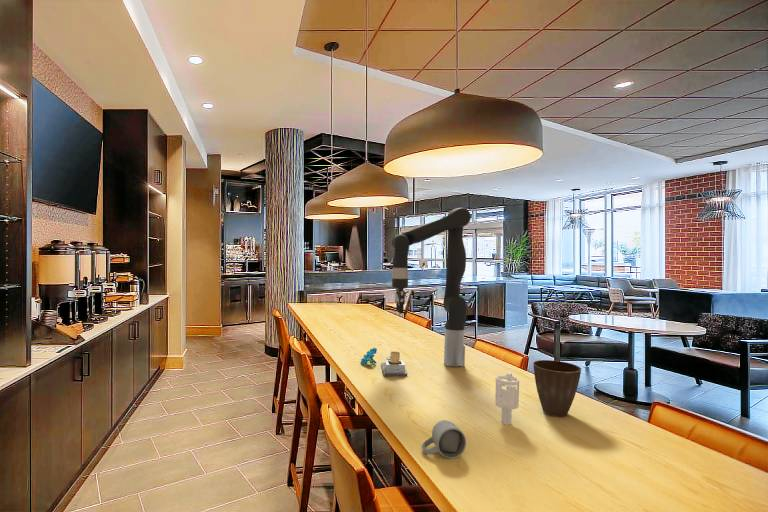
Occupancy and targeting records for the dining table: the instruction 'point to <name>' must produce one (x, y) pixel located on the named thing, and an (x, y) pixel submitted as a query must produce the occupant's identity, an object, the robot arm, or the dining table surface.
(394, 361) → the cylinder
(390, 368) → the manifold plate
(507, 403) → the white stepped cylinder
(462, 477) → the dining table surface
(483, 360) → the dining table surface
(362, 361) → the gear
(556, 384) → the plant pot
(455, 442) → the ceramic mug
